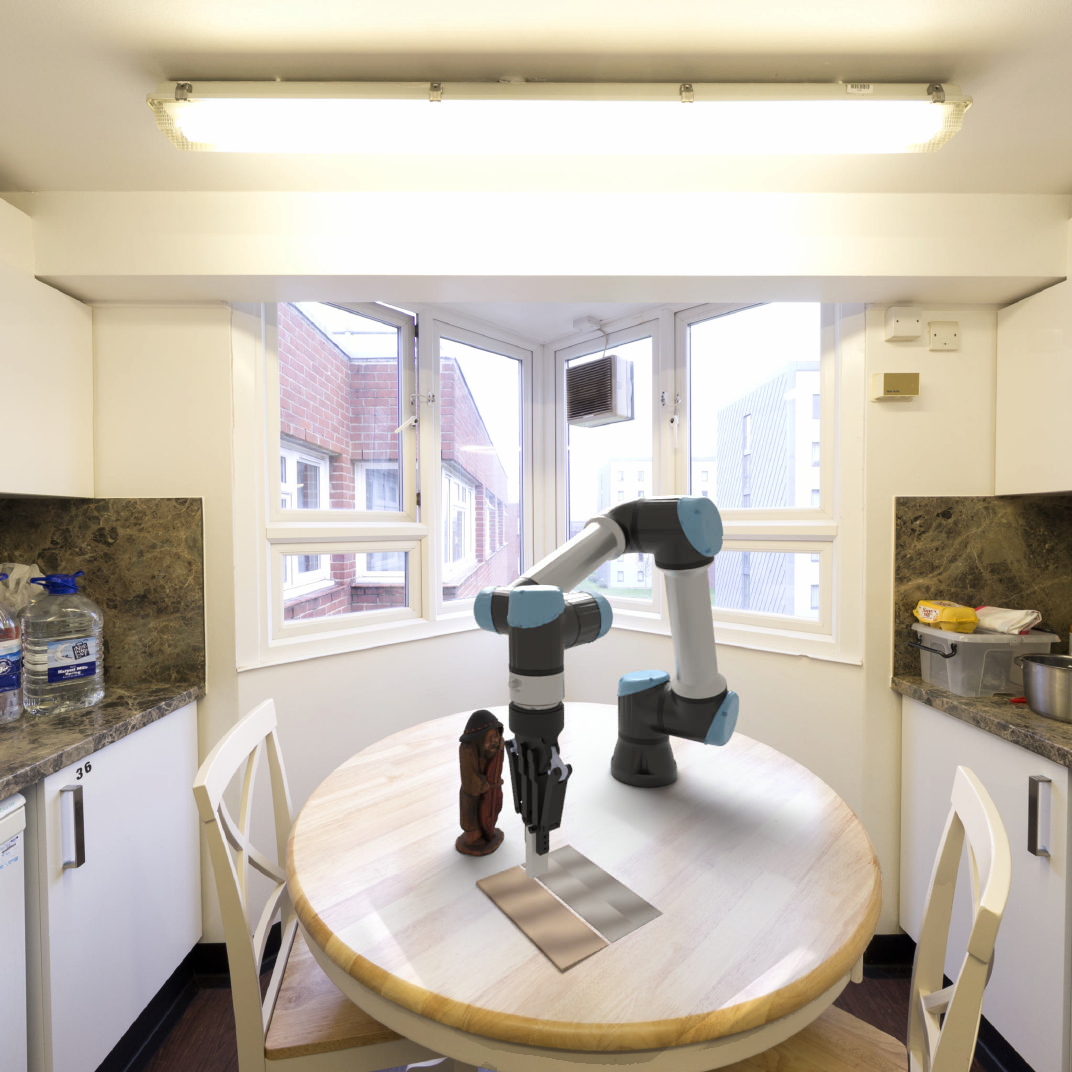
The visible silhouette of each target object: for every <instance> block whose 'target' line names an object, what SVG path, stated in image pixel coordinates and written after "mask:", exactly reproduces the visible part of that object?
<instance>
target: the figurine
mask: <svg viewBox="0 0 1072 1072" xmlns="http://www.w3.org/2000/svg"><path fill="white" fill-rule="evenodd" d="M504 731H505V727H504V723H502V722H501V721H500V720H499V719H498V717H496V715H495V714H493V713H492V712H491V711H490V710H488V709H477V710H476V711H475V710H474V711H473V713H472V714H471V715H470V716H469V718H468V720H467V722H466V725H465V727H464V730H463V732H462V734H461V735H460V737H459V739H458V742H459V743H460V744H459V747H458V758H459V759H458V760H459V762H458V763H459V772H460V773H459V775H460V776H459V777H460V783H461V784H460V787H459V793H458V794H459V795H458V796H459V798H458V799H459V800H458V801H459V803H458V805H459V826H460V829H461V830H463V832H462V833H461V834H460V835H458V836H457V838H455V839H456V840H455V849H456V851H458V853H460V854H463V855H465V856H468V857H469V856H470V857H486V856H488V855H491V854H493V853H495V852H496V851H497V850H498V849H499V847H500V846H501V844H502V843H503V842H504V840H505V832H504V831H503V830H502V829H501V828H499V827H496V825H497V823H498V820H499V816H500V813H501V812H502V809H503V804H504V792H503V789H502V788H503V785H504V784H505V780H504V779H503V778H502V775H503V769H504V761H505V750H506V748H505V744H504V742H505V741H506V740H505V738H504V736H503V735H504Z"/></svg>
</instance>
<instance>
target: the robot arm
mask: <svg viewBox="0 0 1072 1072" xmlns="http://www.w3.org/2000/svg"><path fill="white" fill-rule="evenodd" d="M723 527H724V526H723V521H722V517H721V513H720V512H719V509H718V507H717V506H716V504H715V503H714V502H713V501H712V500H711V499H710V498H709V497H707V496H704V495H690V494H679V495H676V494H675V495H659V496H658V495H657V496H656V495H655V496H635V497H631V498H627V499H624V500H622V501H619V502H617V503H615V504H613V505H611V506H609V507H607V508H605V509H603V510H601V511H600V512H599V513H597V514H595V515H594V516H592V517H591V518H590V519H588V520H587V521H586V523H585V524H584V525H583V529H582V530H581V532H579V533H578V534H577V535H575V536H574V537H572V538H571V539H569V540H568V541H567V542H565V543H564V544H563V545H561V546H560V547H558V548H557V549H556V550H554V551H553V552H551V553H550V554H549V555H547V556H546V557H544V558H543V559H542V560H540V561H539V562H538V563H536V564H535V565H533V566H532V567H530V569H528V570H527V571H525V572H524V573H522V574H521V575H520V576H518V577H517V578H516V579H514V580H513V581H511V582H510V583H508V584H507V585H504V586H501V585H494V586H493V585H492V586H486V587H484V588H483V589H481V590H480V591H478V593H477V595H476V596H475V599H474V602H473V616H474V620H475V622H476V624H477V626H478V627H479V628H480V629H482V630H484V631H486V632H491V633H495V634H497V635H499V636H500V635H507V636H508V682H507V686H508V698H509V700H510V703H509V704H508V729H509V731H510V732H511V733H513V734H514V737H513V738H510V739H506V740H505V742H504V744H505V751H506V754H507V758H508V766H509V767H508V768H509V773H510V782H511V790H512V791H511V792H512V798H513V799H512V800H513V807H514V808H513V809H514V811H515V813H516V814H517V815H519V814H520V815H521V821H522V823H523V824H524V842H525V843H524V844H525V862H526V868H525V872H526V874H527V875H528V876H529V877H530V878H531V879H535V878H536V877H538V876H540V875H542V874H545V873H547V872H548V853H549V852H550V832H552V831H555V830H557V829H559V828H560V827H561V824H562V817H563V813H564V806H565V799H566V793H567V788H568V781H569V779H570V777H571V775H572V773H573V771H574V770H573V766H572V765H571V763H566V764H565V763H564V761H563V760H562V759H561V757H560V754H561V748H560V744H559V739H558V738H559V736H560V735H561V732H563V730H564V728H565V704H564V703H563V700H564V699H565V697H566V696H565V691H566V690H565V665H564V663H565V650H569V649H571V648H576V647H579V646H582V645H586V644H591V643H594V642H595V641H597V640H598V639H601V638H603V637H604V636H606V635H607V634H608V633H609V631H610V630H611V628H612V625H613V620H614V614H613V608H612V606H611V604H610V602H609V600H608V599H607V598H606V597H605V596H604V595H602V594H601V593H599V592H597V591H592V590H591V591H583V590H580V591H578V592H574V593H573V592H571V591H572V590H574V589H575V588H576V587H577V586H579V585H580V584H581V583H582V582H583V581H585V580H586V579H587V578H588V577H589V576H590V575H592V574H593V573H594V572H596V571H597V569H599V568H600V567H601V566H602V565H603V564H605V563H606V562H607V561H609V562H610V561H611V562H612V561H615V560H617V559H619V558H621V556H622V555H626V554H649V555H651V554H653V559H654V565H655V568H656V569H658V570H659V571H661V572H662V573H663V577H664V585H665V592H666V601H667V608H668V616H669V625H670V633H671V641H672V648H673V649H672V651H673V658H674V666H675V675H674V676H673V677H672V678H671V676H670V673H669V672H667V671H665V670H662V669H661V670H660V669H647V670H646V669H645V670H643V669H642V670H637V671H636V670H635V671H631V672H628V673H625V674H623V675H622V676H620V677H619V680H618V682H617V683H618V687H617V694H616V696H617V740H616V743H615V747H614V750H613V755H612V756H611V758H610V773H611V775H612V776H613V778H615V779H616V780H618V781H619V782H622V783H624V784H626V785H631V786H635V787H642V788H644V787H646V788H656V787H658V788H659V787H663V786H667V785H669V784H671V783H673V782H675V781H676V780H677V777H678V764H677V761H676V759H675V757H674V752H673V749H672V745H671V743H670V736H671V737H676V738H680V739H684V740H687V741H688V740H689V741H692V742H698V743H701V744H703V745H705V746H707V745H710V746H715V747H723V746H726V745H727V743H729V741H730V740H731V738H732V736H733V733H734V731H735V728H736V726H737V721H738V716H739V712H740V711H739V710H740V709H739V708H740V698H739V696H738V693H736V692H735V691H733V690H728V683H727V679H726V678H725V676H724V675H723V674H721V673H720V672H719V669H718V659H717V657H718V656H717V649H716V639H715V628H714V618H713V609H712V601H711V592H710V589H711V588H710V582H709V571H708V569H709V568H710V567H711V566H712V564H714V562H715V556H717V555H718V554H719V553H720V552H721V550H722V547H723V536H724V528H723Z"/></svg>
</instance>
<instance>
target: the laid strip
mask: <svg viewBox="0 0 1072 1072" xmlns="http://www.w3.org/2000/svg"><path fill="white" fill-rule="evenodd" d="M521 866H522V867H524V868H525V869H526V861H525V862H523V863H521ZM535 878H537V880H539V881H540V882H541V883H542V884H543V885H544V886H546V887H547V888H548V889H549V890H550V891H551V892H553V893H554V894H555V895H556V896H557V897H558V898H559V899H561V900H562V901H563V902H564V903H565V904H567V905H568V906H569V907H570V908H571V909H572V910H573V911H574V912H575V913H577V914H578V915H579V916H580V917H581V918H582V919H584V920H585V921H586V922H587V923H588V924H590V925H591V926H592V927H593V928H594V929H595V930H596V931H598V932H599V933H600V934H601V935H602V936H603V937H605V938H606V939H607V940H608V942H611V943H612V944H613V943H615V942H617V941H618V940H620V939H622V938H623V937H625V936H627V935H628V934H630V933H632V932H633V931H635V930H638V929H639V928H640V927H642V926H644V925H646V924H647V923H649V922H651V921H653V920H654V919H656V918H658V917H660V916H662V915H663V914H664V913H663V912H662V911H661V910H659V909H658V908H657V907H655V906H654V905H653V904H651V903H650V902H648V901H647V900H646V899H644V898H643V897H641V896H640V895H639V894H637V893H636V892H635V891H633V890H632V889H631V888H629V887H628V886H627V885H625V884H624V883H622V882H621V881H620V880H618V879H617V878H616V877H614V876H612V875H611V874H610V873H608V872H607V871H606V870H604V868H602V867H600V866H599V865H598V864H596V863H595V862H594V861H592V860H591V859H589V858H588V857H587V856H585V855H584V854H582V853H581V852H579V851H578V850H576V848H574V847H573V846H572V845H570V844H566V845H564V846H561V847H559V848H556V849H554V850H551V851H549V852H548V872H547V873H545V874H542V875H540V876H538V877H535Z"/></svg>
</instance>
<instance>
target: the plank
mask: <svg viewBox="0 0 1072 1072" xmlns="http://www.w3.org/2000/svg"><path fill="white" fill-rule="evenodd" d="M475 884H476V885H477V886H478V887H479V888H480V889H481V890H482V892H484V894H485V895H487V897H488V898H489V899H490V900H491V901H492V902H493V903H494V904H495V905H496V906H497V907H498V909H499V910H501V911H502V912H503V913H504V914H505V915H506V917H508V918H509V920H511V921H512V922H513V924H515V926H516V927H518V928H519V930H520V931H521V932H522V933H523V934H524V935H525V936H526V937H527V938H528V939H529V940H530V941H531V942H532V943H533V944H534V945H535V946H536V947H537V948H538V949H539V950H540V951H541V952H542V953H543V954H544V955H545V956H546V958H547V959H548V960H550V962H551V963H552V964H554V966H555V967H556V968H557V969H558V970H559V971H560V972H562V973H563V972H564V971H566V970H567V969H570V968H571V967H573V966H575V965H576V964H578V963H580V962H581V961H583V960H585V959H587V958H589V957H590V956H592V955H594V954H596V953H597V952H598V951H601V950H603V949H604V948H606V947H607V946H609V943H608V942H607V941H605V939H603V938H602V937H601V936H600V935H598V934H597V933H596V932H595V931H594V930H593V929H592V928H590V926H588V925H587V924H586V923H585V922H584V921H583V920H582V919H580V917H578V916H577V915H576V914H575V913H574V912H572V911H571V910H570V909H569V908H567V906H566V905H564V903H562V902H561V901H560V900H559V899H558V898H556V897H555V896H554V895H553V894H552V893H550V891H548V889H546V888H545V887H544V886H542V884H540V883H539V882H538V881H537V880H536V879H535V878H533V879H531V878H530V877H529V876H528V875H527V874H526V870H524V869H523V868H522V867H521V866H520V865H519V864H518V865H516V866H512V867H509V868H507V869H505V870H501V871H499V872H497V873H493V874H492V875H489V876H487V877H483V878H482V879H478V880H476V881H475Z"/></svg>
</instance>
